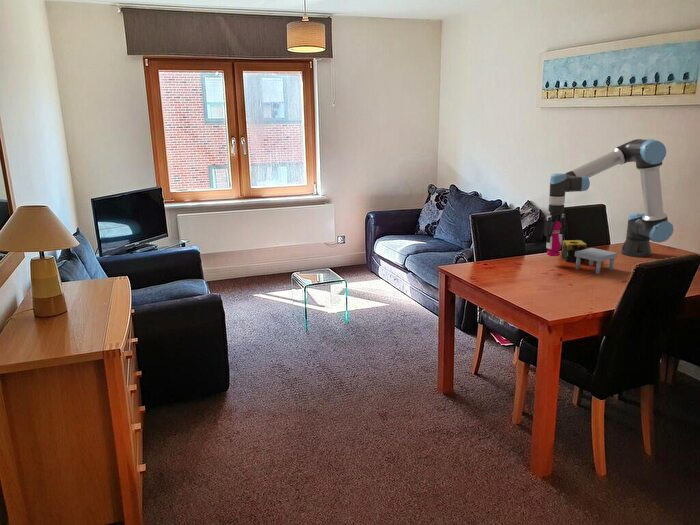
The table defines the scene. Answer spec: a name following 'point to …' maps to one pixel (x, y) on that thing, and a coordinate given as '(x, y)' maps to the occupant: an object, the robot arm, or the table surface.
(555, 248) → the pepper mill
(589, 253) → the stool
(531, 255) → the table surface
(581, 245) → the yellow and black cube
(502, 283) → the table surface
